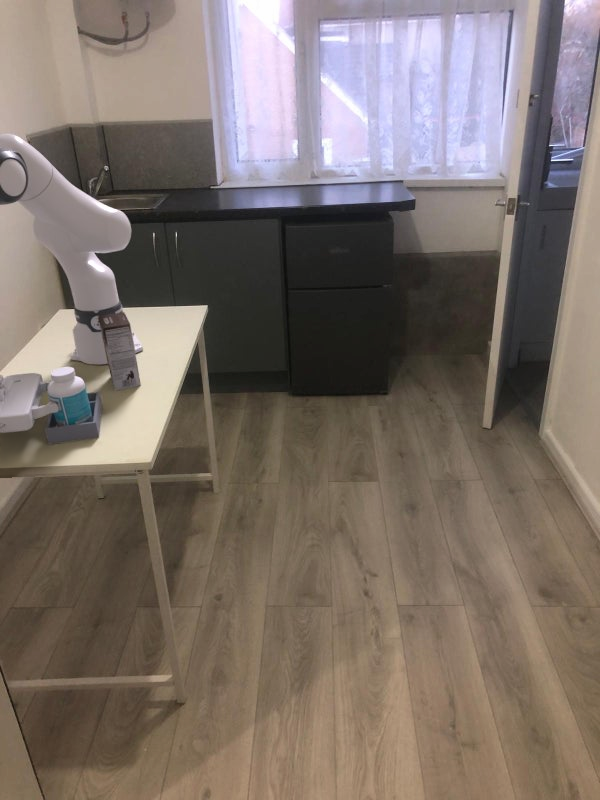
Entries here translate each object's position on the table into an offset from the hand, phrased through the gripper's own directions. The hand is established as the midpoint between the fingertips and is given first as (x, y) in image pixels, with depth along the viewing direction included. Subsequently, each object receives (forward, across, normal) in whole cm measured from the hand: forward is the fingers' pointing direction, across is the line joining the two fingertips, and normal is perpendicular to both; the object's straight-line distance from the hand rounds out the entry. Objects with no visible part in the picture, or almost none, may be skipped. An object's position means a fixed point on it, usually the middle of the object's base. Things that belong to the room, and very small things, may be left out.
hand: (60, 396), depth 134 cm
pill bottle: (+2, 0, +8) cm, 8 cm away
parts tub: (+2, +2, +8) cm, 8 cm away
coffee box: (+12, +21, +8) cm, 25 cm away
